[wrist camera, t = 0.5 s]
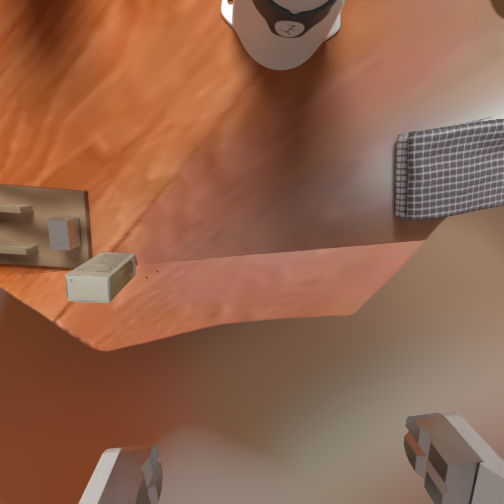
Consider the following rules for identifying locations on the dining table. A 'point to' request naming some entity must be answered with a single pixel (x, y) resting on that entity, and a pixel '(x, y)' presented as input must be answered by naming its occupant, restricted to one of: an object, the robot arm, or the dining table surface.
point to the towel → (450, 170)
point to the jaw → (64, 233)
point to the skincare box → (100, 277)
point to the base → (40, 225)
